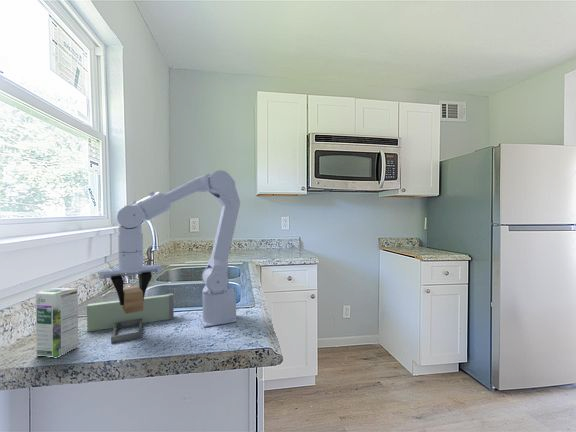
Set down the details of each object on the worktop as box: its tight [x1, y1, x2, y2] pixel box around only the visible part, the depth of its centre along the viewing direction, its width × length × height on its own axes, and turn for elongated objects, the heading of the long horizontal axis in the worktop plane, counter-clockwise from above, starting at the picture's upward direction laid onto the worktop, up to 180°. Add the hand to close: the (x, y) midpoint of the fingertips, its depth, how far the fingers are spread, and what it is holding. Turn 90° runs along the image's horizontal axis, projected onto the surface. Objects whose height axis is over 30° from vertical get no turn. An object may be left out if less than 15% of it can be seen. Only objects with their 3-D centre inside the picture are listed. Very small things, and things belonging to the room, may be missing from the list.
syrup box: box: [35, 287, 79, 357], centre depth 68 cm, size 6×6×14 cm
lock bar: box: [121, 285, 143, 314], centre depth 78 cm, size 8×4×5 cm, turn 37°
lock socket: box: [110, 319, 143, 344], centre depth 79 cm, size 7×11×2 cm, turn 26°
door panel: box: [86, 292, 175, 332], centre depth 86 cm, size 22×2×7 cm, turn 116°
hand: (131, 302), depth 78 cm, fingers closed on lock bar, 4 cm apart
